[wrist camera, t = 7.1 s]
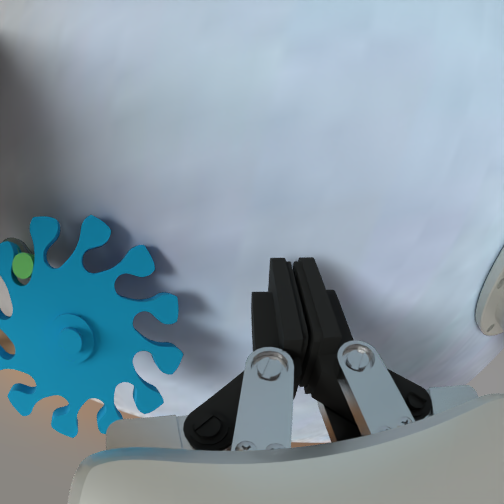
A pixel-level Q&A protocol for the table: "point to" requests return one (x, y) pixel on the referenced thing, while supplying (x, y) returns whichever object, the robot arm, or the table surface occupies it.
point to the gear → (79, 326)
